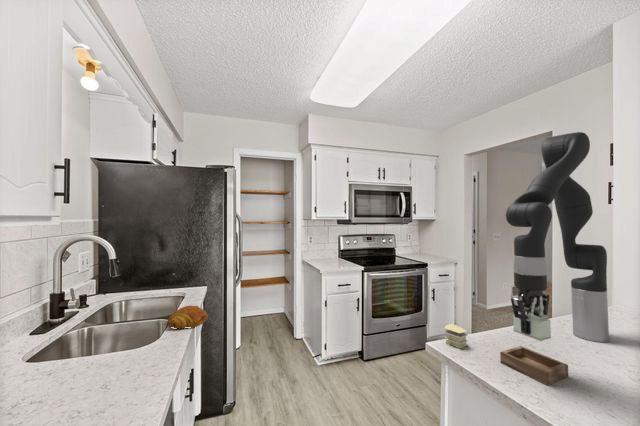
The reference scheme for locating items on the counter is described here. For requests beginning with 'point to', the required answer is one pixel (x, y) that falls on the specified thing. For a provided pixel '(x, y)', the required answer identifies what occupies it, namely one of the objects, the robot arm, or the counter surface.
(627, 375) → the counter surface
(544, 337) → the box
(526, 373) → the big crate
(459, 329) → the stacked layers on plate
